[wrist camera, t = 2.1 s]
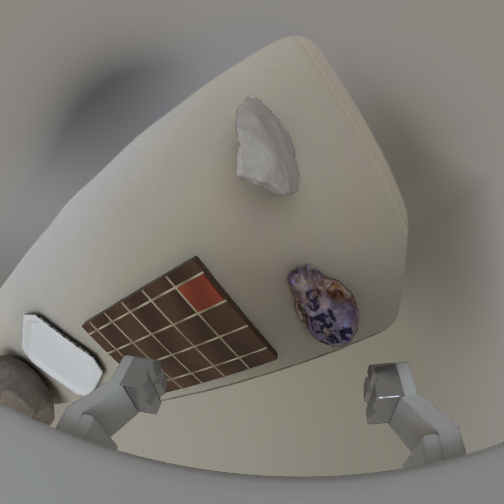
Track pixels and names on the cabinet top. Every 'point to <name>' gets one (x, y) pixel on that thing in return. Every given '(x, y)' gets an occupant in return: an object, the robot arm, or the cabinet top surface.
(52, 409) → the pot
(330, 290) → the skull
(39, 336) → the plate
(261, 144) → the stone tool
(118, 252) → the cabinet top surface
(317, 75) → the cabinet top surface
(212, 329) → the board
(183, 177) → the cabinet top surface
